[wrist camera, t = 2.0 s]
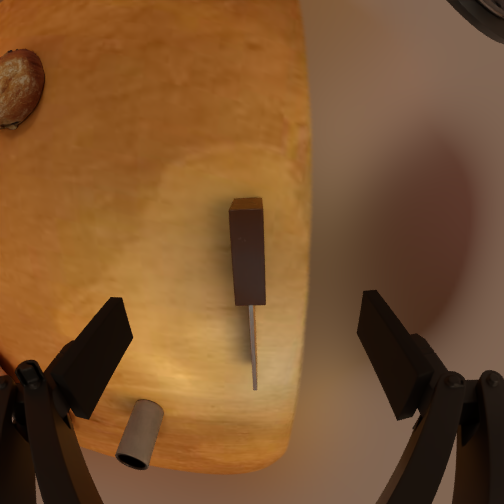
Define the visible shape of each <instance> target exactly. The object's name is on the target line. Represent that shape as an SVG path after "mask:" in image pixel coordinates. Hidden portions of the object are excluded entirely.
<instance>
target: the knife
mask: <svg viewBox="0 0 504 504" xmlns="http://www.w3.org/2000/svg"><path fill="white" fill-rule="evenodd" d="M229 223H230V238H231V253H232V267H233V280H234V293H235V305H236V306H248V305H249V323H250V341H251V358H252V375H253V390H257V343H256V320H255V305H266V293H265V255H264V221H263V203H262V198H238V199H234V200H233V202H232V204H231V207H230V209H229Z"/></svg>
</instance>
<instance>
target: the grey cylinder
mask: <svg viewBox="0 0 504 504" xmlns="http://www.w3.org/2000/svg"><path fill="white" fill-rule="evenodd" d="M163 414H164V412H163V410H162V408H161V407H160V406H159V405H157V404H156V403H154V402H152V401H149V400H139V401H137V402H136V404H135V406H134V408H133V411H132V413H131V416H130V418H129V421H128V423H127V426H126V428H125V431H124V433H123V436H122V439H121V441H120V444H119V446H118V449H117V452H116V455H115V456H116V458H117V459H118V460H119V461H120V462H121V463H123V464H124V465H126V466H128V467H131V468H134V469H138V470H146V469H147V468H148V466H149V463H150V459H151V455H152V452H153V449H154V445H155V442H156V438H157V435H158V432H159V428H160V425H161V422H162V418H163Z"/></svg>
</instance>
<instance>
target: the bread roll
mask: <svg viewBox="0 0 504 504" xmlns="http://www.w3.org/2000/svg"><path fill="white" fill-rule="evenodd" d="M44 76H45V75H44V70H43V67H42V64H41V61H40V59H39V57H38V56H36V54H35V53H34V52H32V51H29V50H27V49H19V50H18V49H17V50H15V51H12V50H10V51H8V52H7V53H6V54H4V55H3V56H2V57H1V58H0V128H1V129H5V128H9V129H12V130H13V129H15V128H17V125H18V124H19V123H21V122H22V121H23V120H24V119H25V118H26V117H27V116H28V115H29V114H30V113H31V112H32V111H33V109H34V108H35V106H36V105H37V103H38V101H39V99H40V96H41V93H42V88H43V84H44Z"/></svg>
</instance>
